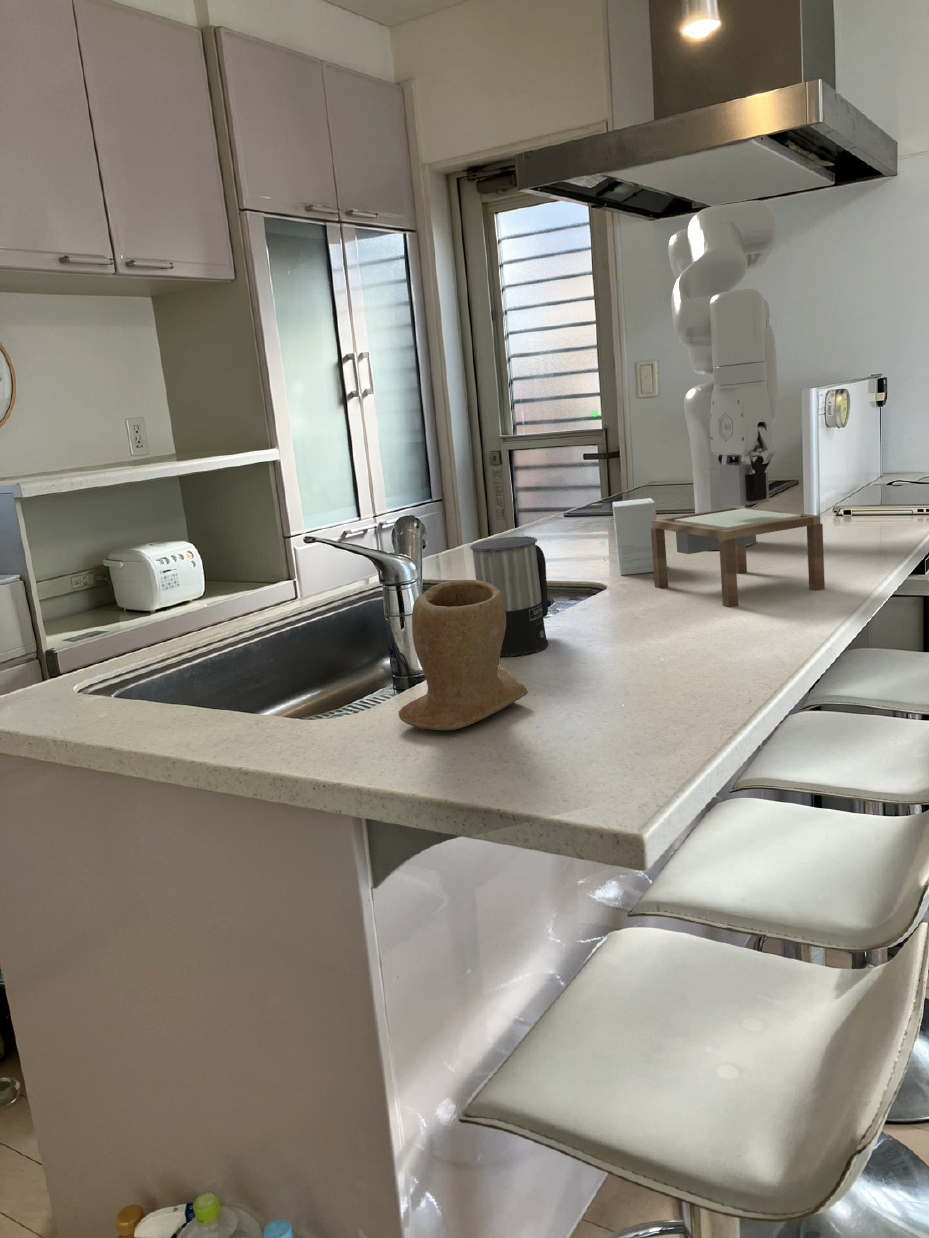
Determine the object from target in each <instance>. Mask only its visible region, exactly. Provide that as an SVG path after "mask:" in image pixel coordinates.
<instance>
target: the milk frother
mask: <svg viewBox="0 0 929 1238" xmlns="http://www.w3.org/2000/svg"><path fill="white" fill-rule="evenodd" d="M537 542H538V538H536V537H534V536H528V535H526V536H509V537H508V536H507V537H499V538H493V539H487V540H482V541H479V542H476V543H473V544H471V545H470V546H469V549H471V550H472V556H473V565H474V572H475V573H474V575H475V580H477V581H483V582H486V583H489V584H491V585H493V586H494V587H496V588H498V590H499V591H500V592H501V594H502V597H503V600H504V605H505V612H506V629H505V634H504V639H503V643H502V648H501V652H500V657H515V656H524V655H525V656H526V655H530V654H533V653H537V652H538V653H539V652H540V651H542V650H544V649H546V648H547V647H548V645H549V640H548V638H547V635H546V627H545V622H544V621H545V620H544V619H545V617H547V616H548V613H549V606H548V584H547V582H548V581H547V564H546V563H547V562H546V558H545V554H544V551H543V550H542V548H541V547H540V546H539V545H537V544H536V543H537ZM529 653H530V654H529Z"/></svg>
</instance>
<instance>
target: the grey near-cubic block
mask: <svg viewBox="0 0 929 1238" xmlns="http://www.w3.org/2000/svg"><path fill="white" fill-rule="evenodd" d="M753 462H755V460H753ZM768 471H769V470H768ZM768 471H767V472H766V491H767V498H766V499H763V500H757V501H751V502H750V501H747V499H746V479H745V475H748V470H747V466H746V461H745V460H742V461H741V462H734V463H728V464H721V465H720V478H721V496H722V504H728V505H736V506H744V505H745V506H749V505H755V504H761V503H767V502H770V493H769V492H770V491H769V473H768Z"/></svg>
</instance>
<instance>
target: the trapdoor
mask: <svg viewBox="0 0 929 1238" xmlns="http://www.w3.org/2000/svg"><path fill="white" fill-rule="evenodd" d="M796 518H801V515H795V514H786V513H777V512H768V511H760V510H751V509H738V510H731V511H725V512H719V513H713V514H706V515H700V516H694V517H688V518H682V519H675V522H679V523H685V524H692V525H699V526H705V527H712V528H718V529H725V530H730V529H736V528H742V527H748V526H754V525H760V524H766V523H772V522H778V521H784V520H790V519H796ZM675 537H676V549H677V550H676V552H677V553H681V554H685V555H692V554H698V553H704V552H710V551H716V549H719V539H717V538H711V537H705V536H699V535H693V534H687V533H681V532H675ZM734 539H735V546H739V545H745V544H751V543H753V544H755V543H757V535H752V536H746V537H740V538H734ZM751 545H752V544H751Z"/></svg>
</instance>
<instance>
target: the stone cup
mask: <svg viewBox="0 0 929 1238" xmlns="http://www.w3.org/2000/svg"><path fill="white" fill-rule="evenodd" d="M505 629H506V612H505V605H504V600H503V597H502V594H501V592H500V591H499V590H498V588H496V587H494V586H493V585H491V584H489V583H486V582H483V581H477V580H476V579H474V580H473V579H456V580H451V581H450V580H449V581H444V582H440V583H437V584H435V585H432V586H430V587H429V588H428V589H427V590H426V591H425V592H424V593H422V594H419V595H418V596H417V598H416V599H414V603H413V606H412V610H411V631H412V642H413V646H414V650H415V653H416V657H417V659H418V662H419V665H420V667H421V668H422V671H423V674H424V677H425V681H426V685H427V692H426V694H424V695H422V696H420V697H418V698H416V699H414V700H412V701H410V702H409V703H407V704H406V705H404V706H402V707H401V709H400V710H399V711H398V714H397V715H398V717H399V720H401V721H402V722H403V723H405V724H407V725H409V726H412V727H414V728H419V729H424V730H433V731H452V730H458V729H463V728H466V727H468V726H470V725H473V724H475V723H477V722H480V721H482V720H484V719H487V718H488V717H490V716H492V715H494V714H495V713H497V712H499V711H501V710H502V709H504V708H506V707H508V706H509V705H511V704H513V703H515V702H517V701H518V700H520V699H522V698H523V697H525V696H526V695H527V694H528V693H529V691H528V689H527V686H525V684H523V682H521V681H519V680H517V678H515V677H514V676H513V675H509V673H508V672H507V671H506V670H504V669H502V668H500V667H499V663H500V658H501V656H500V652H501V648H502V643H503V639H504V634H505Z"/></svg>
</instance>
